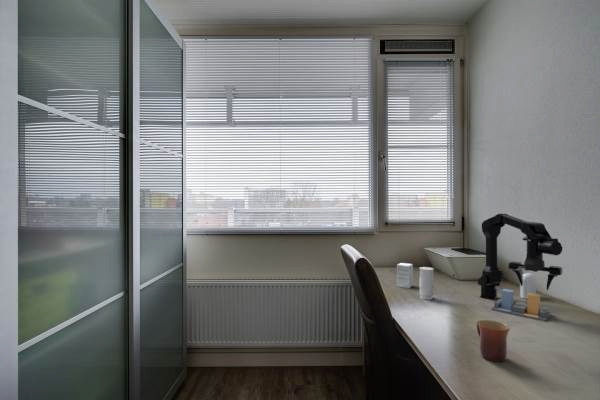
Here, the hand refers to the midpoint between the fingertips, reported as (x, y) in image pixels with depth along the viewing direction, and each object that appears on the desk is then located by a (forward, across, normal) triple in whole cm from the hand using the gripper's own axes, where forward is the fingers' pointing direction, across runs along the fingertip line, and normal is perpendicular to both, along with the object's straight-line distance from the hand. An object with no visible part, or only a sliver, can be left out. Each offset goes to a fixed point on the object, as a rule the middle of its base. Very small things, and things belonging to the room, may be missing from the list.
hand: (534, 287), depth 146 cm
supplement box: (+12, -63, +5) cm, 65 cm away
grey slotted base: (+12, -5, 0) cm, 13 cm away
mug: (+12, -2, -56) cm, 57 cm away
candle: (+12, -44, -9) cm, 47 cm away
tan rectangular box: (+11, 0, 0) cm, 11 cm away
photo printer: (+12, -8, +31) cm, 34 cm away
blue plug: (+11, -10, 0) cm, 15 cm away
